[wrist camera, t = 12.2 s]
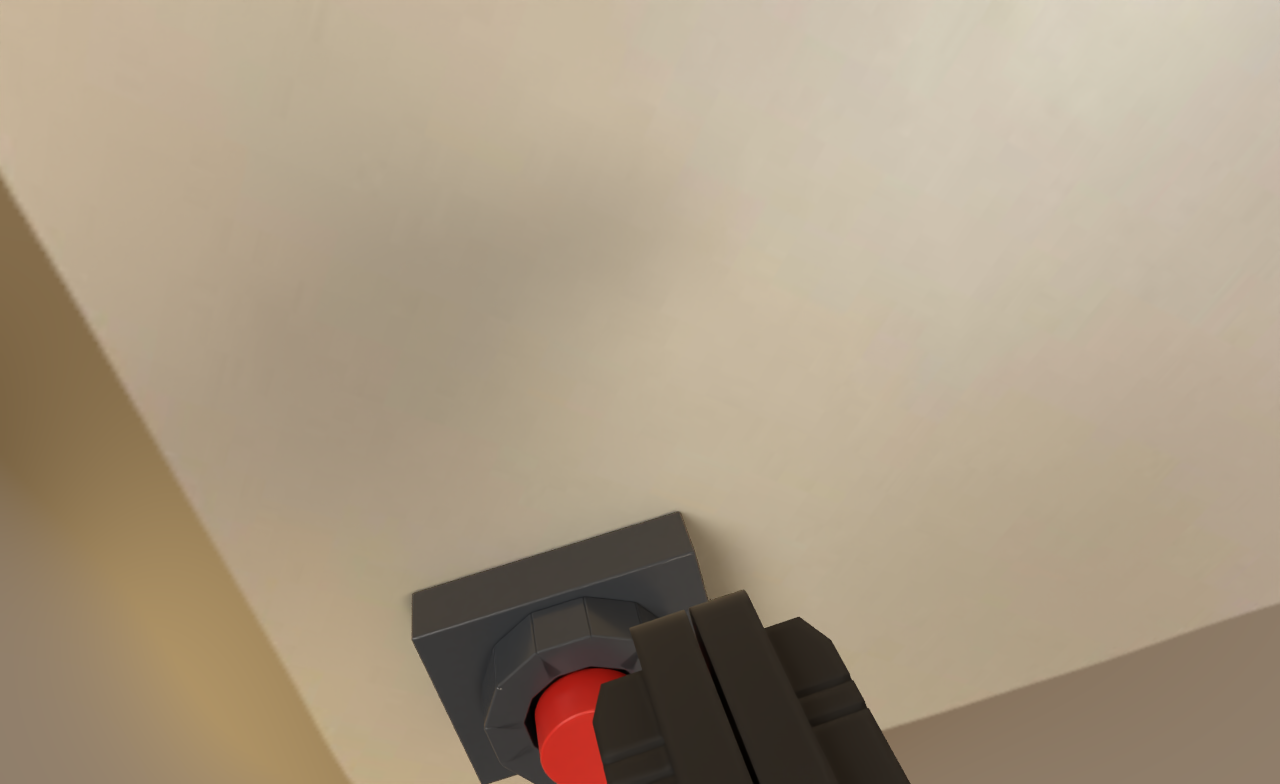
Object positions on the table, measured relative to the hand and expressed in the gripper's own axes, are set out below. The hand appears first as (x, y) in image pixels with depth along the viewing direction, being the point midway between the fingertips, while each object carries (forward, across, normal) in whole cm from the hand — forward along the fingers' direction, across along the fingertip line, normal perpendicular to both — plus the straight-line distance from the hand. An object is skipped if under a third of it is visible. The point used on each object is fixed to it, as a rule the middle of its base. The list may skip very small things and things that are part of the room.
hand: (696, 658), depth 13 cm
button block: (+18, +2, +15) cm, 23 cm away
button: (+14, +3, +15) cm, 21 cm away
